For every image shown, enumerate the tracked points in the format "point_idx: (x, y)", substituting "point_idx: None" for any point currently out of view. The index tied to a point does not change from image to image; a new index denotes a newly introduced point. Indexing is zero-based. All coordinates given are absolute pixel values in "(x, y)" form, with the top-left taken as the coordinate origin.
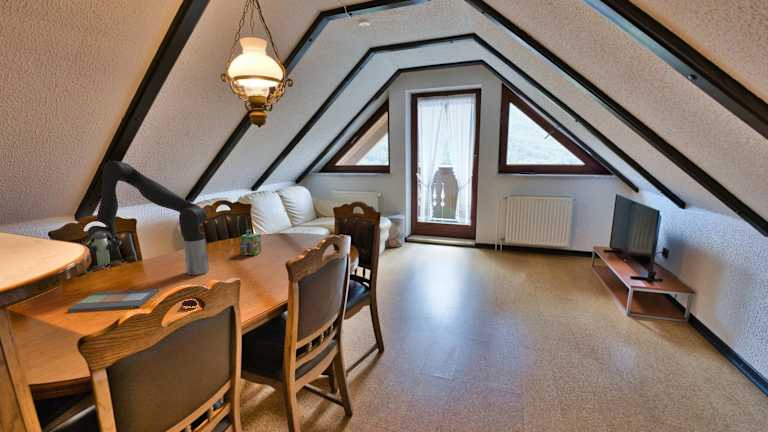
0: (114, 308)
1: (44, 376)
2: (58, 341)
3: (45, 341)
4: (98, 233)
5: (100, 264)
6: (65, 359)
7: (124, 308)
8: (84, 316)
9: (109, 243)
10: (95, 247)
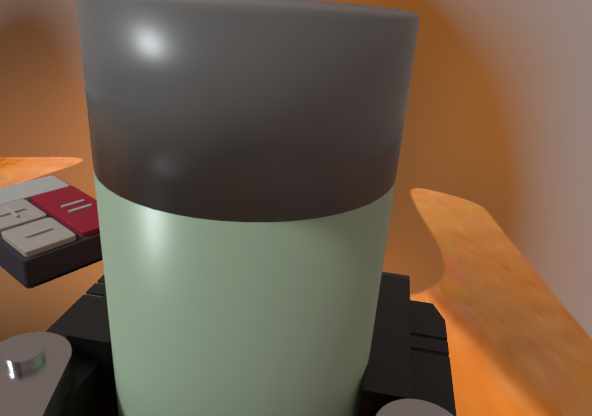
0: None
1: (470, 206)
2: (481, 289)
3: (521, 309)
4: (279, 8)
5: None
6: (444, 224)
7: None
8: None
9: (58, 341)
10: None
